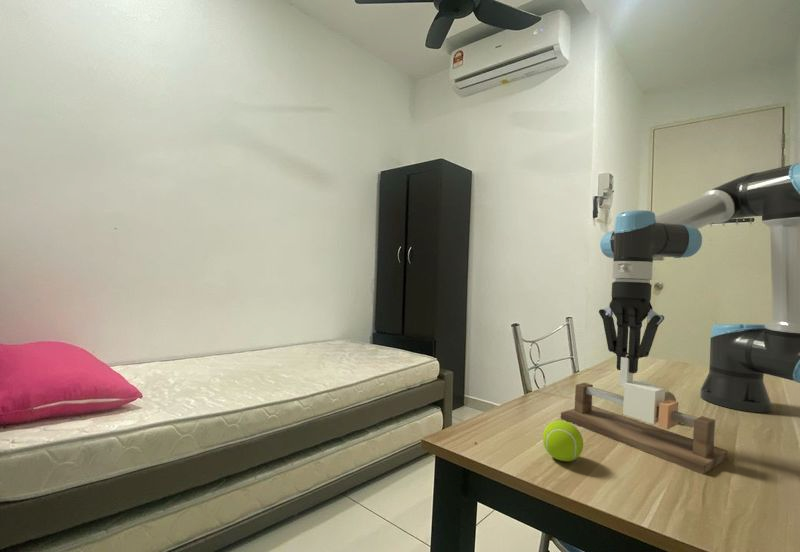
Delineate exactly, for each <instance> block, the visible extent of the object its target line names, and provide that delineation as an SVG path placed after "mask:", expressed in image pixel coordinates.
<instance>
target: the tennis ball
mask: <svg viewBox="0 0 800 552" xmlns="http://www.w3.org/2000/svg"><path fill="white" fill-rule="evenodd" d="M542 442H543V446H544V448H545V450H546V452H547V453H548V454H549V455H550V456H551V457H552V458H554V459H555V460H558V461H561V462H572V461H574V460H576V459H578V458H579V457H580V455H581V454H582V452H583V449H584V438H583V436H582V434H581V432H580V430H579V429H578V428H577V426H575V424H573V423H570V422H568V421H565V420H554V421H551V422H550V423H549V424H547V425H546V427H545V428H544V430H543V433H542Z"/></svg>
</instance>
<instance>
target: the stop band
mask: <svg viewBox="0 0 800 552" xmlns="http://www.w3.org/2000/svg"><path fill="white" fill-rule="evenodd" d="M673 411H677V412H679V401H677V400H676V401H674V400H667V401H664V402H661V403H659V420H658V423H657V427H658V428H661V429H664V430H669V429H671V428H674V427H675V426H678V422H676V421H672V420H671V412H673Z"/></svg>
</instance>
